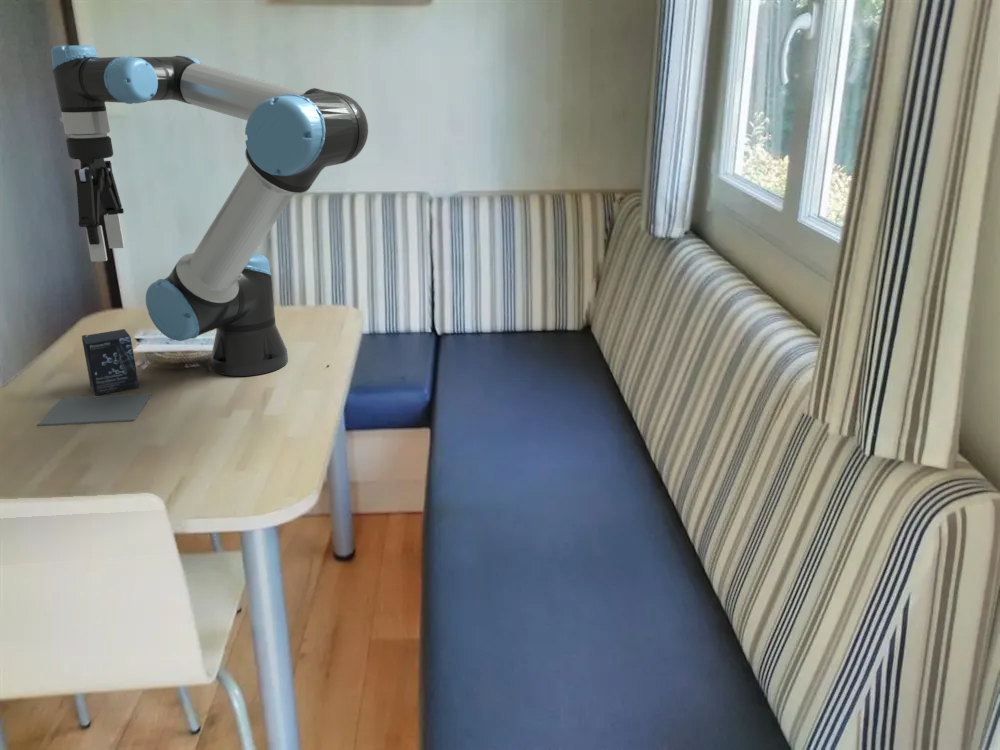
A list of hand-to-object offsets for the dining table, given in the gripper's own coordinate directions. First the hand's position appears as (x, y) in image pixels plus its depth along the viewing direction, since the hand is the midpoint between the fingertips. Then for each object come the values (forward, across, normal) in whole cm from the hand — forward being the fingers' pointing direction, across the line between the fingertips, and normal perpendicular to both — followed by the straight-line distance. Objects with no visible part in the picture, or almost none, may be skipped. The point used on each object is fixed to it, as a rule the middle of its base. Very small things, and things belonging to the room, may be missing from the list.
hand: (108, 254), depth 163 cm
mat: (+24, +20, 0) cm, 31 cm away
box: (+24, +9, 0) cm, 26 cm away
